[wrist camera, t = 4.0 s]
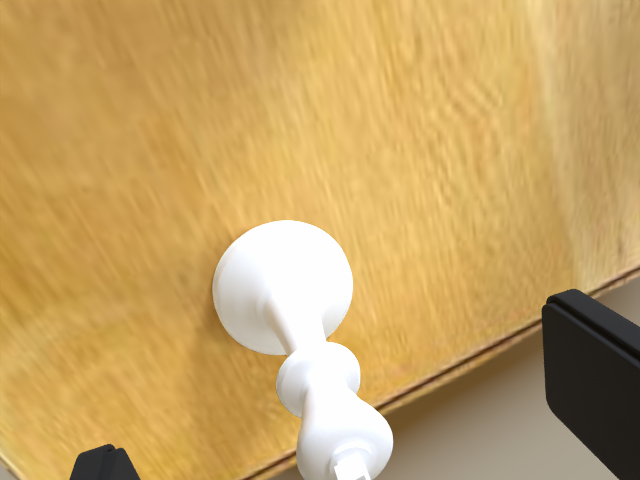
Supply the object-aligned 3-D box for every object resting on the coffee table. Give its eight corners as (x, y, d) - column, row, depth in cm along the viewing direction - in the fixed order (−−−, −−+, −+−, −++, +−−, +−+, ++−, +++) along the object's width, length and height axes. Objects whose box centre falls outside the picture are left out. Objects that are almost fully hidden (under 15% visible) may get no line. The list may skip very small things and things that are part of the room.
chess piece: (251, 369, 18) (305, 692, 8) (185, 261, 16) (163, 527, 6) (368, 308, 18) (544, 557, 9) (318, 196, 16) (476, 361, 7)
